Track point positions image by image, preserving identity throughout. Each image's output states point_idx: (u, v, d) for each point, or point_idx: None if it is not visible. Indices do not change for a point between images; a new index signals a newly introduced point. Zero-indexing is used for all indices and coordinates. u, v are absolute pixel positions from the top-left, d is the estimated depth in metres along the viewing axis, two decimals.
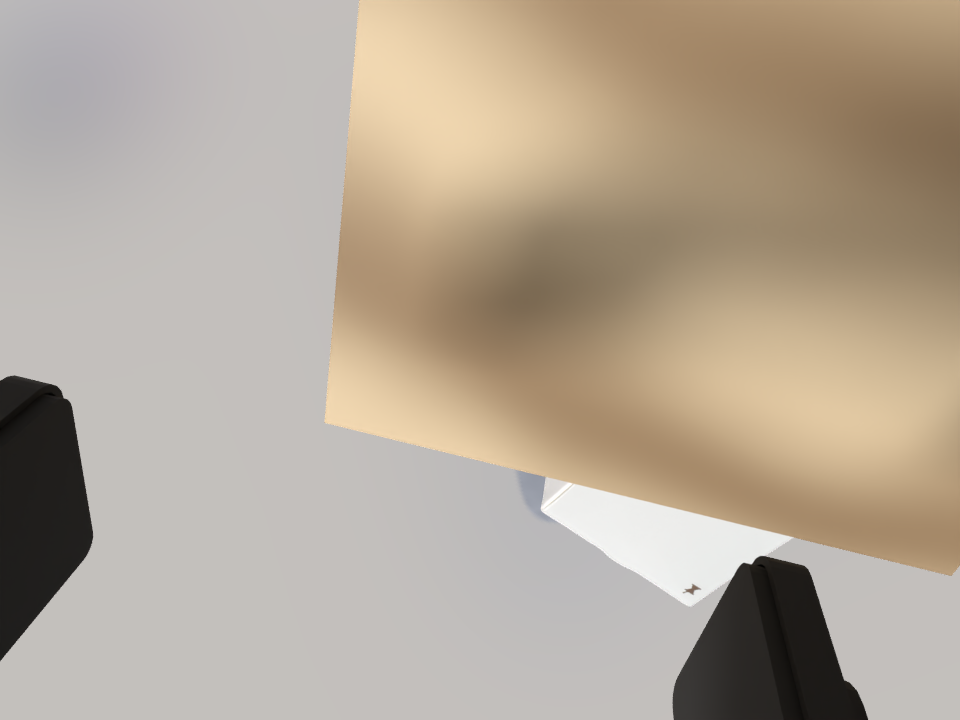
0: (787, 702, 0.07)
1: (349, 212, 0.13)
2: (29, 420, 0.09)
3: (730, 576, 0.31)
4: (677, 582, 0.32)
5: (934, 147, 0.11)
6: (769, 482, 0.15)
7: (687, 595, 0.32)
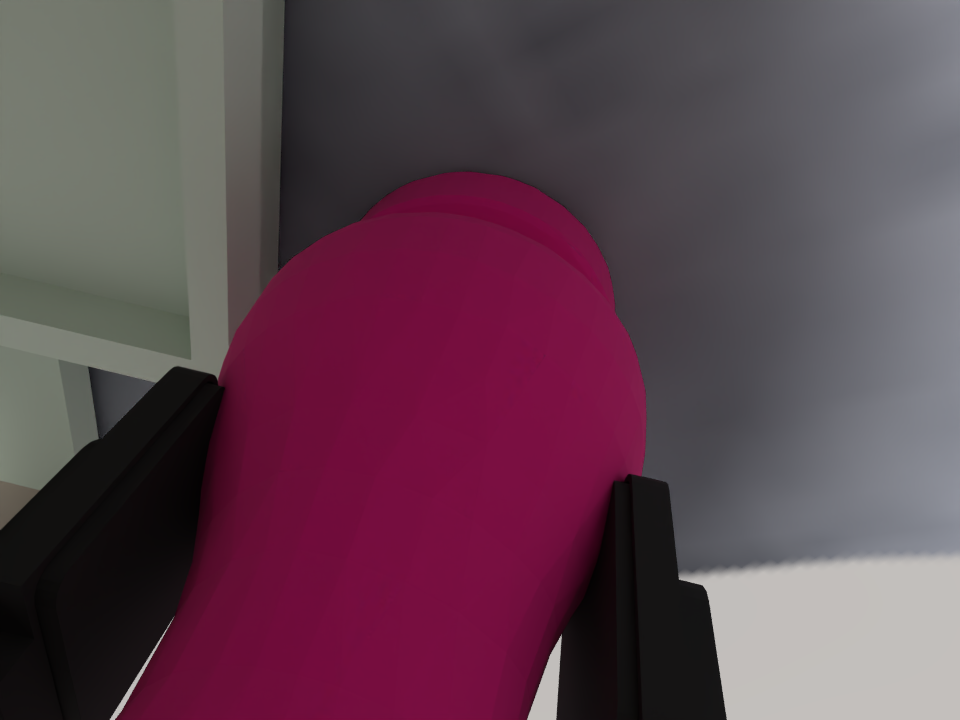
0: (624, 587, 0.08)
1: None
2: (200, 406, 0.09)
3: None
4: None
5: None
6: None
7: None
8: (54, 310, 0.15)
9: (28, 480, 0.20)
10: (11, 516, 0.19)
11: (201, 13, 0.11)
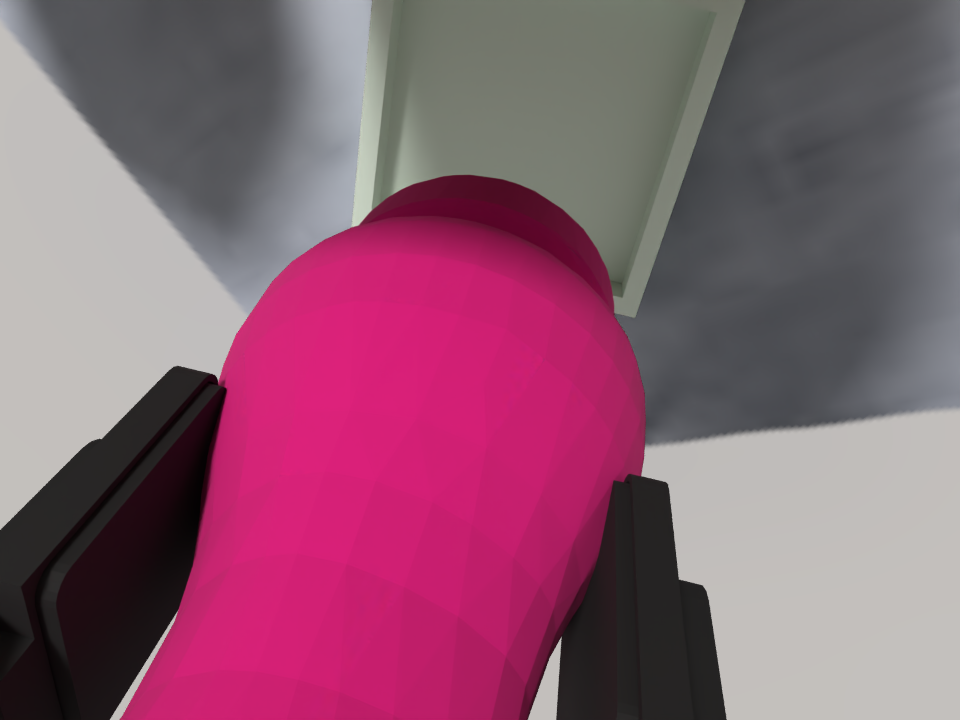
0: (623, 587, 0.08)
1: None
2: (200, 406, 0.09)
3: None
4: None
5: None
6: None
7: None
8: None
9: None
10: None
11: (683, 150, 0.27)
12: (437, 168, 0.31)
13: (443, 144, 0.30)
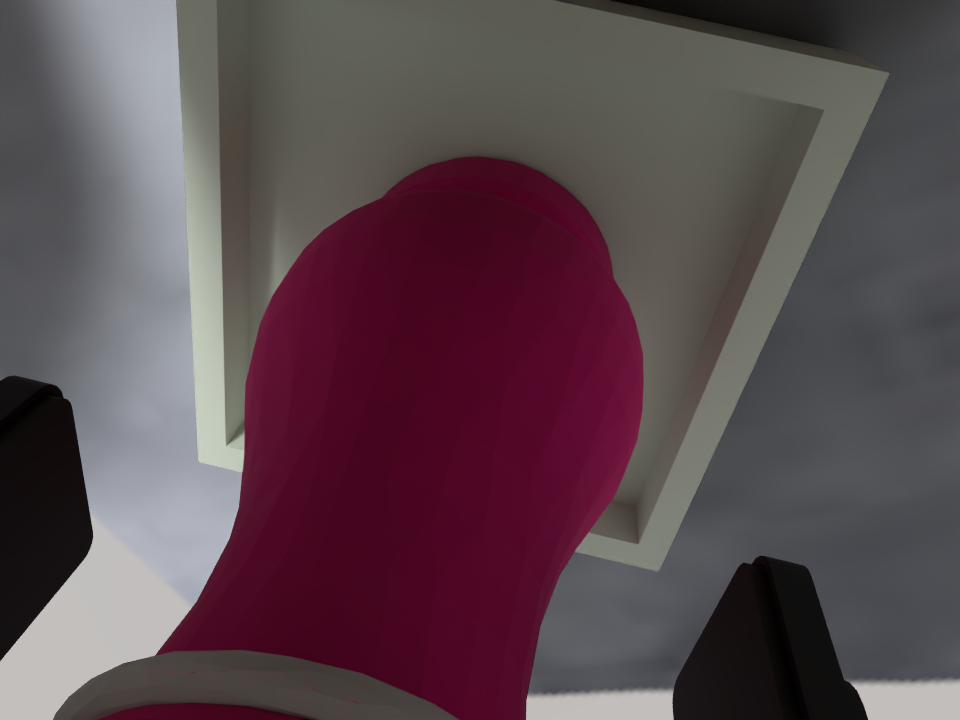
0: (787, 702, 0.07)
1: None
2: (29, 420, 0.09)
3: None
4: None
5: None
6: None
7: None
8: None
9: None
10: None
11: (749, 338, 0.15)
12: None
13: None
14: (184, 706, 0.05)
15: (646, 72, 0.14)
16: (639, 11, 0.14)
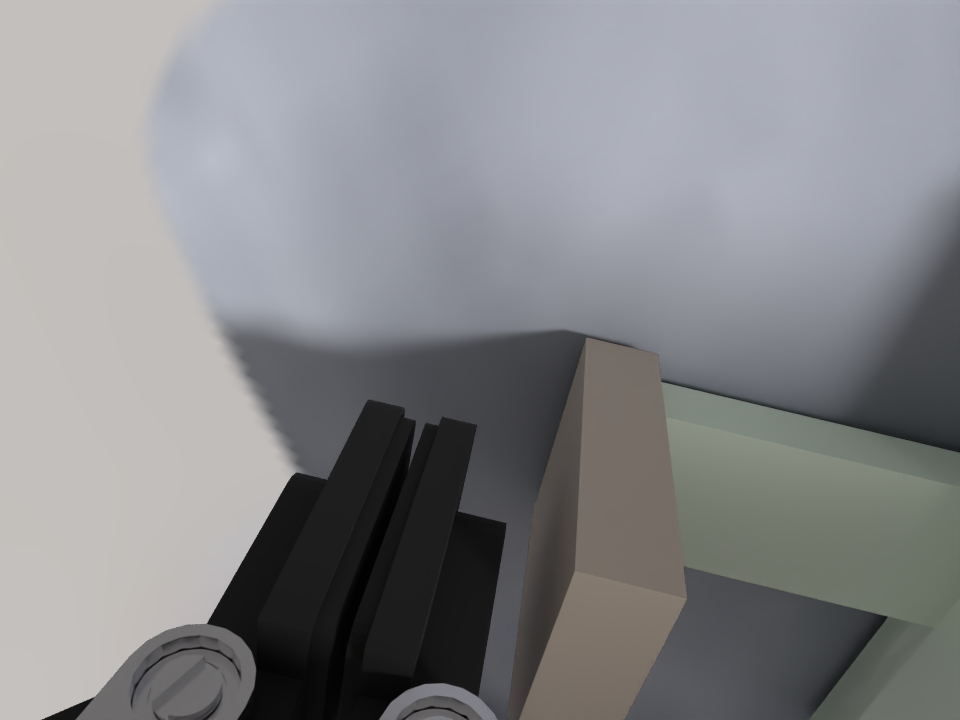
0: (401, 516, 0.08)
1: None
2: (401, 441, 0.10)
3: None
4: None
5: None
6: None
7: None
8: None
9: None
10: None
11: None
12: None
13: None
14: None
15: None
16: None
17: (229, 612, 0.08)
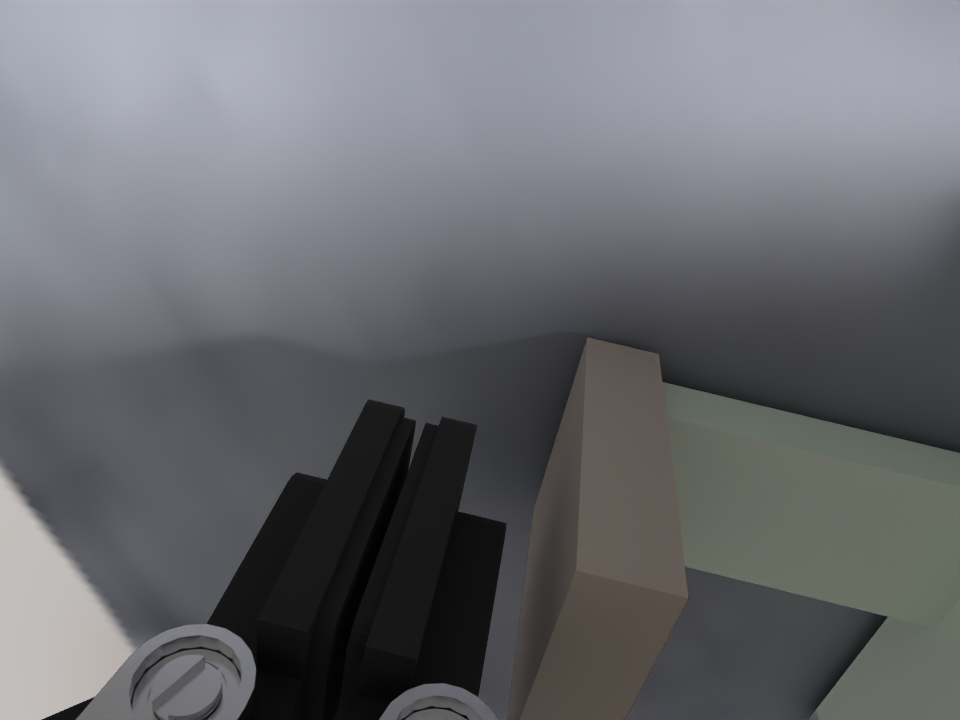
0: (401, 516, 0.08)
1: None
2: (401, 441, 0.10)
3: None
4: None
5: None
6: None
7: None
8: None
9: None
10: None
11: None
12: None
13: None
14: None
15: None
16: None
17: (229, 612, 0.08)
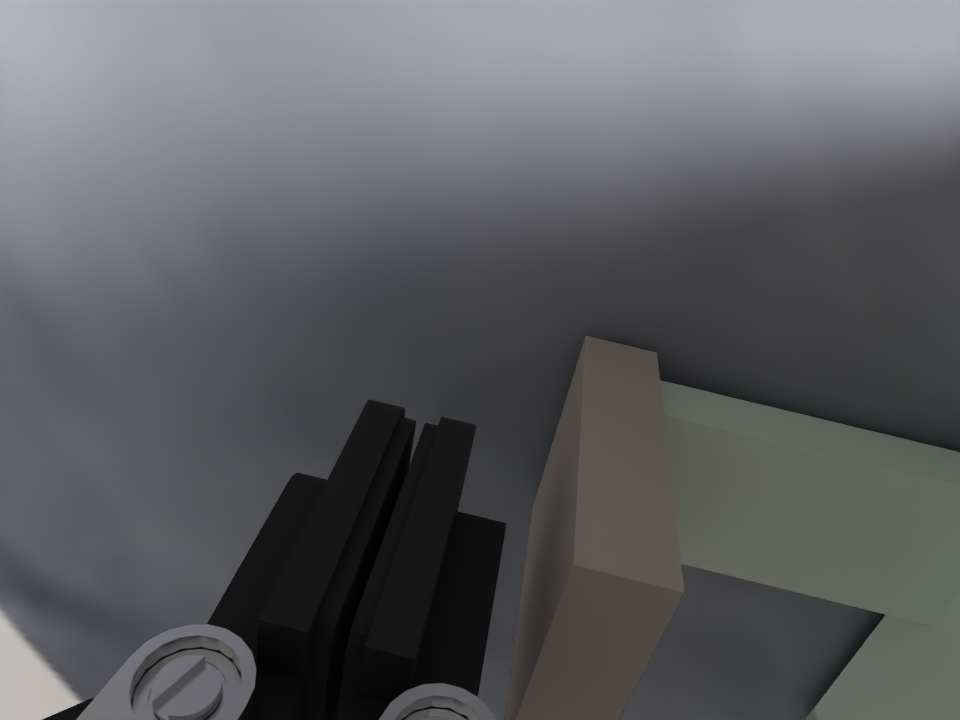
0: (400, 516, 0.08)
1: None
2: (401, 441, 0.10)
3: None
4: None
5: None
6: None
7: None
8: None
9: None
10: None
11: None
12: None
13: None
14: None
15: None
16: None
17: (229, 612, 0.08)
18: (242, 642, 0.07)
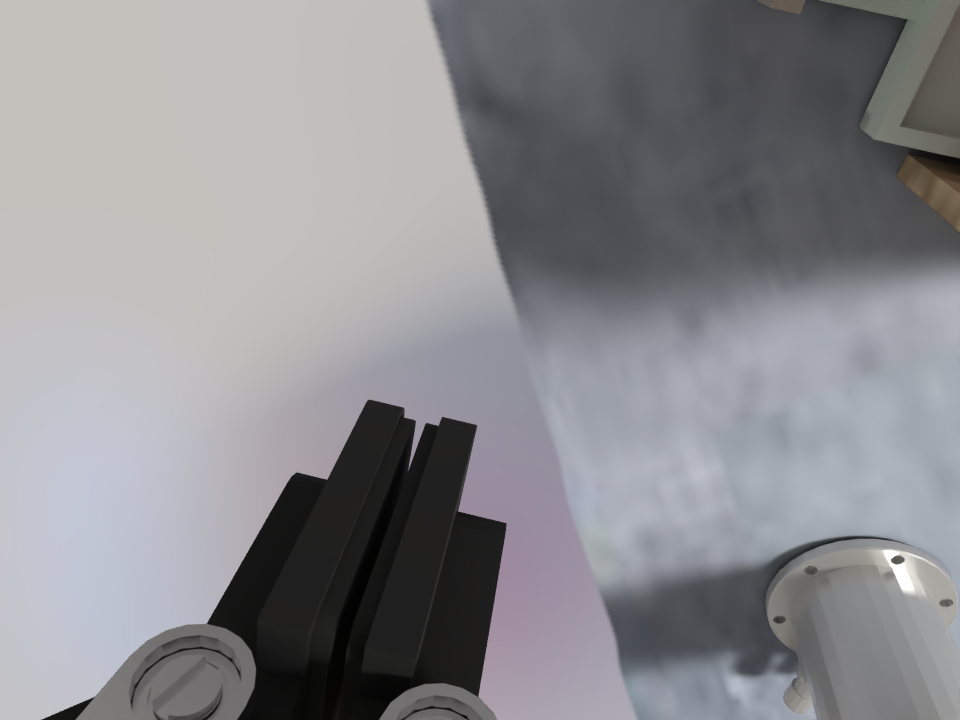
0: (401, 516, 0.08)
1: None
2: (401, 441, 0.10)
3: None
4: None
5: None
6: None
7: None
8: None
9: None
10: None
11: None
12: None
13: None
14: None
15: None
16: None
17: (229, 612, 0.08)
18: (242, 642, 0.07)
